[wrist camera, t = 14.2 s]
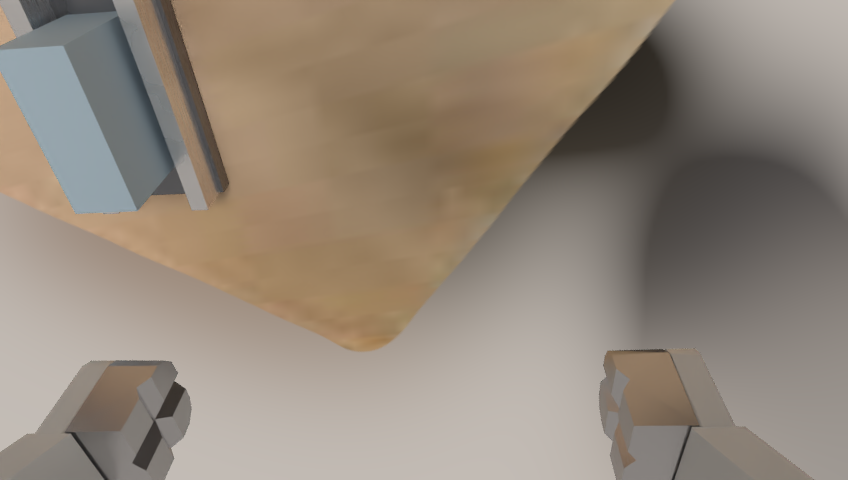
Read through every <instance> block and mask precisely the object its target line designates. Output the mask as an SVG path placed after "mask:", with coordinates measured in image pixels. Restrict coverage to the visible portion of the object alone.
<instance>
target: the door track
mask: <svg viewBox="0 0 848 480" xmlns="http://www.w3.org/2000/svg"><path fill="white" fill-rule="evenodd" d="M0 5H1V7H2V9H3V11H4V13H5V15H6V17H7V19H8V21H9V23H10V25H11V27H12V29H13V31H14V33H15V35H16V37H17V38H18V37H20V36H22V35H24V34H26V33H29V32H31V31H33V30H35V29H37V28H39V27H41V26H43V25H46V24H48V23H50V22H52V21H54V20H56V19H58V18H61V17H63V16H65V15H72V14H85V13H99V12H112V11H117V14H118V16H119V19H120V22H121V24H122V27H123V30H124V32H125V35H126V38H127V40H128V43H129V45H130V48H131V51H132V53H133V56H134V59H135V61H136V64H137V67H138V69H139V72H140V75H141V77H142V80H143V82H144V85H145V88H146V90H147V93H148V96H149V98H150V101H151V104H152V106H153V109H154V112H155V114H156V117H157V119H158V122H159V125H160V127H161V130H162V133H163V135H164V138H165V141H166V143H167V146H168V149H169V151H170V154H171V156H172V159H173V162H174V164H175V167H174V168H173V169H172V171H171V172H170V173H169V174H168V175H167V176H166V178H165V179H164V180H163V181H162V182H161V184H160V185H159V186H158V187H157V188H156V190H155V191H154V192H153V193H152V194H151V195H165V194H186V196H187V199H188V201H189V204H190V207H191V209H192V210H208V209H209V208H210V206H211V205H212V203H213V202H214V200H215V199H216V197H217V196H218V194H219V193H220V192H224V191H225V189H226V188H227V186H228V184H229V182H228V179H227V176H226V173H225V170H224V167H223V164H222V161H221V157H220V154H219V151H218V148H217V145H216V142H215V139H214V136H213V133H212V129H211V126H210V123H209V120H208V117H207V114H206V111H205V108H204V105H203V101H202V98H201V95H200V92H199V89H198V86H197V83H196V80H195V77H194V73H193V70H192V67H191V64H190V61H189V58H188V55H187V52H186V49H185V45H184V42H183V39H182V36H181V33H180V30H179V27H178V24H177V21H176V17H175V14H174V11H173V8H172V5H171V2H170V0H0ZM117 213H120V212H104V213H103V214H117Z"/></svg>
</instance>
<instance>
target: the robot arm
mask: <svg viewBox="0 0 848 480" xmlns="http://www.w3.org/2000/svg"><path fill="white" fill-rule="evenodd" d="M603 366H604V369H605V373H606V378H605V379H604V380H602V381H601V383H600V391H599V406H600V415H601V421H602V425H603V429H604V433H605V434H606V435H607V436H608V437H609V438H610V439H611V440H612V441H613V443H612V448H611V453H610V457H611V461H612V465H613V469H614V473H615V476H616V480H814V479H813V478H812V477H810V476H809V475H807V474H806V473H805V472H804V471H802V470H801V469H800V468H798V467H797V466H796V465H795V464H793V463H792V462H791V461H789V460H788V459H787V458H785V457H784V456H783V455H781V454H780V453H778V452H777V451H776V450H775V449H774V448H772V447H771V446H770V445H768V444H767V443H766V442H764V441H763V440H762V439H760V438H759V437H758V436H756V435H755V434H754V433H752V432H751V431H750V430H749V429H747V428H746V427H739V426H735V424H734V422H733V420H732V418H731V416H730V414H729V412H728V410H727V408H726V406H725V404H724V402H723V399H722V397H721V396H720V393H719V392H718V389H717V387H716V385H715V383H714V381H713V379H712V377H711V375H710V373H709V371H708V369H707V367H706V364H705V362H704V360H703V358H702V356H701V354H700V353H699V352H698V351H697V350H696V349H695V348H693V349H665V350H663V349H650V350H617V351H607V353H606V355H605V359H604V364H603ZM177 374H178V372H177V371H176V369H175V367H174V365H173V364H172V362H169V361H90V362H89V363H87V364H85V365H84V366H82V368H81V369H80V370H79V372H78V373H77V375H76V376H75V378H74V379H73V380H72V382H71V383H70V385H69V386H68V388H67V389H66V390H65V392H64V393H63V395H62V396H61V397H60V399H59V400H58V402H57V403H56V404H55V406H54V407H53V409H52V410H51V412H50V413H49V414H48V416H47V417H46V419H45V420H44V421H43V423H42V424H41V426H40V427H39V429H38V430H37V432H36V433H35V434H26V435H25V436H23V437H22V438H20V439H19V440H17V441H16V442H14V443H13V444H11V445H10V446H9V447H7V448H6V449H4V450H3V451H1V452H0V480H165V478H166V475H167V473H168V471H169V469H170V466H171V464H172V462H173V460H174V456H173V453H172V450H171V447H173V446H174V445H175V444H176V443H177V442H178V441H180V440H181V439H182V438H183V437H184V435H185V433H186V430H187V428H188V425H189V422H190V415H191V402H190V397H189V395H188V393H187V390H186V389H185V388H184V387H182V386H181V385H179V384H178V383H176V382H175V381H174V380H175V378H176V376H177Z"/></svg>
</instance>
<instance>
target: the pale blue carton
mask: <svg viewBox="0 0 848 480" xmlns="http://www.w3.org/2000/svg"><path fill="white" fill-rule="evenodd" d="M0 72H1V73H2V75H3V77H4V79H5V81H6V83H7V85H8V87H9V89H10V90H11V92H12V94H13V96H14V98H15V100H16V102H17V104H18V106H19V107H20V109H21V111H22V113H23V115H24V117H25V119H26V121H27V123H28V125H29V126H30V128H31V130H32V132H33V134H34V136H35V138H36V140H37V142H38V143H39V145H40V147H41V149H42V151H43V153H44V155H45V157H46V159H47V160H48V162H49V164H50V166H51V168H52V170H53V172H54V174H55V176H56V177H57V179H58V181H59V183H60V185H61V187H62V189H63V191H64V193H65V195H66V196H67V198H68V200H69V202H70V204H71V206H72V208H73V210H74V212H75V213H76V214H81V213H104V212H127V211H138V210H139V209H140V208H141V206H142V205H143V204H144V203H145V202H146V200H147V199H148V198H149V197H150V196H151V194H152V193H153V192H154V191H155V190H156V188H157V187H158V186H159V185H160V184H161V182H162V181H163V180H164V179H165V178H166V176H167V175H168V174H169V173H170V172H171V171H172V169H173V168H174V167H175V164H174V162H173V159H172V156H171V154H170V151H169V149H168V146H167V143H166V141H165V138H164V135H163V133H162V130H161V127H160V125H159V122H158V119H157V117H156V114H155V112H154V109H153V106H152V104H151V101H150V98H149V96H148V93H147V90H146V88H145V85H144V82H143V80H142V77H141V75H140V72H139V69H138V67H137V64H136V61H135V59H134V56H133V53H132V51H131V48H130V45H129V43H128V40H127V38H126V35H125V32H124V30H123V27H122V24H121V22H120V19H119V16H118V14H117V11H112V12H99V13H85V14H72V15H65V16H63V17H61V18H58V19H56V20H54V21H52V22H50V23H48V24H46V25H43V26H41V27H39V28H37V29H35V30H33V31H31V32H29V33H26V34H24V35H22V36H20V37H18V38H16V39H14V40H11V41H9V42H7V43H5V44H3V45H1V46H0Z"/></svg>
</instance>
